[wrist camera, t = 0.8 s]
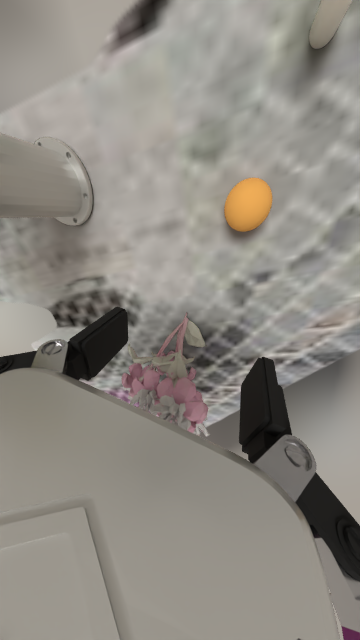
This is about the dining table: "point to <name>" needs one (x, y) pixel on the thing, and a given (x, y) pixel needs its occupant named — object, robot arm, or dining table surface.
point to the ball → (248, 204)
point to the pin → (327, 21)
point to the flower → (169, 382)
